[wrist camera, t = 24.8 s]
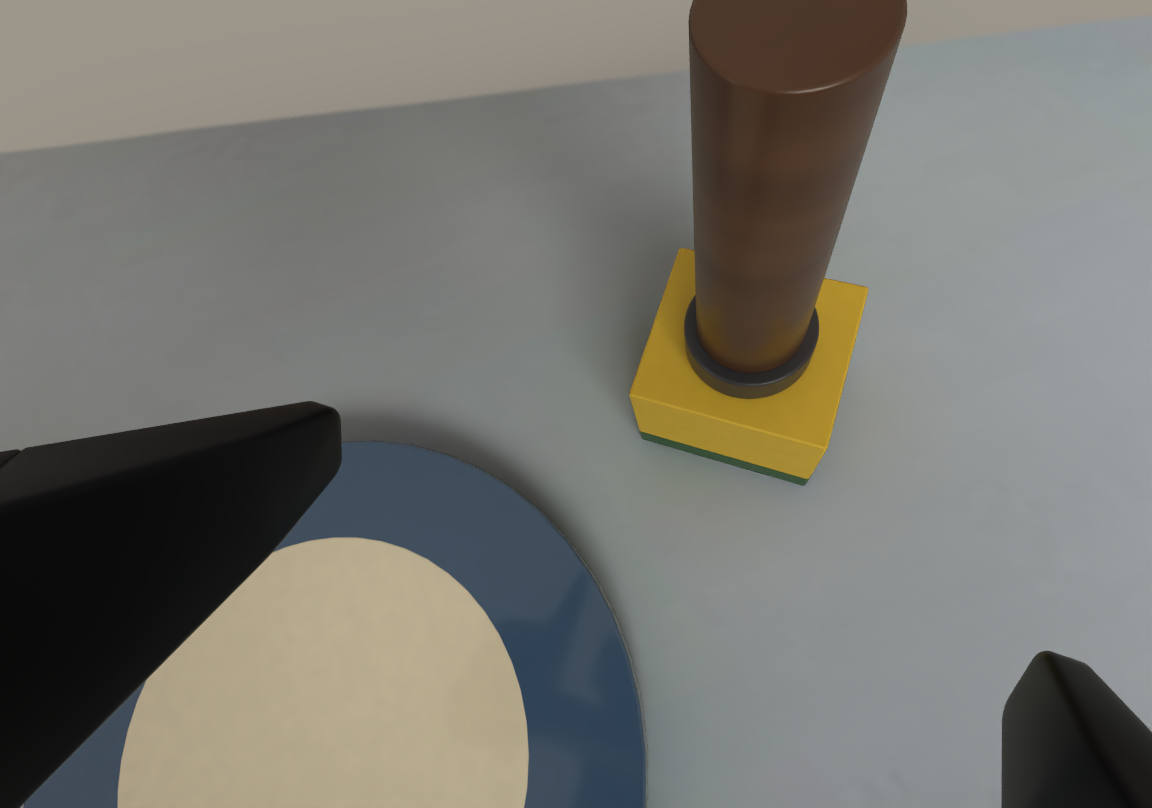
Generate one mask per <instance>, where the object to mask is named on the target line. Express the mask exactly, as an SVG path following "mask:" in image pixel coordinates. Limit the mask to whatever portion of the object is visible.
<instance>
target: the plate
mask: <svg viewBox="0 0 1152 808" xmlns="http://www.w3.org/2000/svg"><path fill="white" fill-rule="evenodd" d="M341 444H342V461H341V465H340V468H339V470H338V472H337V474H336V476H335V477H334V478H333V479H332V481H331V482H330V483H329V484H328V486H327V487H326V488H325V489H324V491H323V492H322V493H321V494H320V495H319V497H318V498H317V499H316V500H315V502H314V503H313V504H312V505H311V506H310V508H309V509H308V510H307V511H306V513H305V514H304V515H303V516H302V518H301V519H300V520H299V521H298V522H297V524H296V525H295V526H294V527H293V529H292V530H291V531H290V532H289V534H288V535H287V536H286V537H285V538H284V540H283V541H282V542H281V543H280V544H279V545H278V547H277V548H276V549H275V550H274V551H273V552H272V554H271V555H270V556H269V557H268V558H267V559H266V560H265V561H264V562H263V563H262V564H261V565H260V566H259V567H258V568H257V569H256V570H255V571H254V572H253V573H252V574H251V575H250V576H249V577H248V578H247V579H246V580H245V581H244V582H243V583H242V584H241V585H240V586H239V587H238V588H237V589H236V590H235V591H234V592H233V593H232V594H231V595H230V596H229V597H228V598H227V599H226V600H225V601H224V602H223V603H222V604H221V605H220V606H219V607H218V608H217V609H216V611H215V612H214V613H213V614H212V615H211V616H210V617H209V618H208V619H207V620H206V621H205V622H204V623H203V624H202V625H201V626H200V627H199V628H198V629H197V630H196V631H195V632H194V633H193V634H192V635H191V636H190V637H189V638H188V639H187V640H186V641H185V642H184V643H183V644H182V645H181V646H180V647H179V648H178V649H177V650H176V651H175V652H174V653H173V654H172V655H171V656H170V657H169V658H168V659H167V660H166V661H165V662H164V663H163V664H162V665H161V666H160V667H159V668H158V669H157V670H156V671H155V672H154V673H153V674H152V675H151V676H150V677H149V678H148V679H147V680H146V681H145V682H144V683H143V684H142V685H141V686H140V687H139V688H138V689H137V690H136V691H135V692H134V693H133V694H132V695H131V696H130V697H129V698H128V699H127V700H126V701H125V702H124V703H123V704H122V705H121V706H120V707H119V708H118V709H117V710H116V711H115V712H114V713H113V714H112V715H111V716H110V717H109V718H108V719H107V720H106V721H105V722H104V723H103V724H102V725H101V726H100V727H99V728H98V729H97V730H96V731H95V732H94V733H93V734H92V735H91V736H90V737H89V738H88V739H87V740H86V741H85V742H84V743H83V744H82V745H81V746H80V747H79V748H78V749H77V750H76V751H75V752H74V753H73V754H72V755H71V756H70V757H69V758H68V759H67V760H66V761H65V762H64V763H63V764H62V765H61V766H60V767H59V768H58V769H57V770H56V771H55V772H54V773H53V774H52V775H51V776H50V777H49V778H48V779H47V780H46V781H45V782H44V783H43V784H42V785H41V786H40V787H39V788H38V789H37V790H36V791H35V792H34V793H33V794H32V795H31V796H30V797H29V798H28V799H27V800H26V802H25V803H24V808H647V804H648V747H647V738H646V730H645V722H644V713H643V705H642V699H641V695H640V691H639V687H638V682H637V678H636V674H635V670H634V666H633V662H632V658H631V654H630V652H629V649H628V646H627V644H626V641H625V638H624V636H623V633H622V631H621V628H620V625H619V623H618V620H617V617H616V615H615V613H614V611H613V609H612V607H611V605H610V603H609V601H608V599H607V597H606V596H605V594H604V592H603V590H602V588H601V586H600V584H599V582H598V580H597V579H596V577H595V575H594V574H593V572H592V571H591V570H590V568H589V567H588V565H587V564H586V563H585V561H584V560H583V558H582V557H581V555H580V554H579V553H578V551H577V550H576V548H575V547H574V546H573V544H572V543H571V542H570V541H569V540H568V539H567V538H566V536H565V535H564V534H563V533H562V532H561V531H560V530H559V529H558V528H557V527H556V526H555V525H554V524H553V522H552V521H551V520H550V519H549V518H548V517H547V516H546V515H545V514H544V513H543V512H541V511H540V510H539V509H538V508H537V507H535V506H534V505H533V504H532V503H530V502H529V501H528V500H527V499H525V498H524V497H523V496H522V495H521V494H519V493H518V492H517V491H516V490H514V489H513V488H512V487H511V486H509V485H507V484H506V483H504V482H502V481H501V480H499V479H497V478H496V477H494V476H492V475H491V474H489V473H487V472H486V471H484V470H482V469H481V468H479V467H476V466H474V465H472V464H469V463H467V462H464V461H462V460H460V459H457V458H455V457H453V456H450V455H448V454H445V453H441V452H437V451H434V450H430V449H426V448H422V447H418V446H415V445H409V444H400V443H392V442H384V441H343V442H341Z"/></svg>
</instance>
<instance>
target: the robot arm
mask: <svg viewBox="0 0 1152 808" xmlns="http://www.w3.org/2000/svg"><path fill="white" fill-rule="evenodd" d="M341 461H342V444H341V420H340V415H339V413H338V412H337V411H336V410H335V409H334V408H332V407H329V406H326V405H323V404H320V403H317V402H313V401H306V402H300V403H294V404H288V405H282V406H276V407H270V408H264V409H258V410H252V411H246V412H240V413H234V414H228V415H222V416H216V417H210V418H204V419H198V420H192V421H186V422H179V423H173V424H167V425H161V426H155V427H149V428H143V429H137V430H131V431H125V432H119V433H113V434H107V435H101V436H95V437H89V438H83V439H77V440H71V441H65V442H59V443H53V444H46V445H40V446H34V447H28V448H25V449H23V450H22V451H20V450H17V449H16V450H9V451H3V452H0V808H20V807H21V806H22V805H23V804H24V803H25V802H26V800H27V799H28V798H29V797H30V796H31V795H32V794H33V793H34V792H35V791H36V790H37V789H38V788H39V787H40V786H41V785H42V784H43V783H44V782H45V781H46V780H47V779H48V778H49V777H50V776H51V775H52V774H53V773H54V772H55V771H56V770H57V769H58V768H59V767H60V766H61V765H62V764H63V763H64V762H65V761H66V760H67V759H68V758H69V757H70V756H71V755H72V754H73V753H74V752H75V751H76V750H77V749H78V748H79V747H80V746H81V745H82V744H83V743H84V742H85V741H86V740H87V739H88V738H89V737H90V736H91V735H92V734H93V733H94V732H95V731H96V730H97V729H98V728H99V727H100V726H101V725H102V724H103V723H104V722H105V721H106V720H107V719H108V718H109V717H110V716H111V715H112V714H113V713H114V712H115V711H116V710H117V709H118V708H119V707H120V706H121V705H122V704H123V703H124V702H125V701H126V700H127V699H128V698H129V697H130V696H131V695H132V694H133V693H134V692H135V691H136V690H137V689H138V688H139V687H140V686H141V685H142V684H143V683H144V682H145V681H146V680H147V679H148V678H149V677H150V676H151V675H152V674H153V673H154V672H155V671H156V670H157V669H158V668H159V667H160V666H161V665H162V664H163V663H164V662H165V661H166V660H167V659H168V658H169V657H170V656H171V655H172V654H173V653H174V652H175V651H176V650H177V649H178V648H179V647H180V646H181V645H182V644H183V643H184V642H185V641H186V640H187V639H188V638H189V637H190V636H191V635H192V634H193V633H194V632H195V631H196V630H197V629H198V628H199V627H200V626H201V625H202V624H203V623H204V622H205V621H206V620H207V619H208V618H209V617H210V616H211V615H212V614H213V613H214V612H215V611H216V609H217V608H218V607H219V606H220V605H221V604H222V603H223V602H224V601H225V600H226V599H227V598H228V597H229V596H230V595H231V594H232V593H233V592H234V591H235V590H236V589H237V588H238V587H239V586H240V585H241V584H242V583H243V582H244V581H245V580H246V579H247V578H248V577H249V576H250V575H251V574H252V573H253V572H254V571H255V570H256V569H257V568H258V567H259V566H260V565H261V564H262V563H263V562H264V561H265V560H266V559H267V558H268V557H269V556H270V555H271V554H272V552H273V551H274V550H275V549H276V548H277V547H278V545H279V544H280V543H281V542H282V541H283V540H284V538H285V537H286V536H287V535H288V534H289V532H290V531H291V530H292V529H293V527H294V526H295V525H296V524H297V522H298V521H299V520H300V519H301V518H302V516H303V515H304V514H305V513H306V511H307V510H308V509H309V508H310V506H311V505H312V504H313V503H314V502H315V500H316V499H317V498H318V497H319V495H320V494H321V493H322V492H323V491H324V489H325V488H326V487H327V486H328V484H329V483H330V482H331V481H332V479H333V478H334V477H335V476H336V474H337V472H338V470H339V468H340V465H341ZM1002 808H1152V732H1151V731H1150V730H1149V729H1148V727H1147V726H1146V725H1145V724H1144V723H1143V722H1142V721H1141V720H1140V719H1139V718H1138V717H1137V716H1136V715H1135V714H1134V713H1133V712H1132V711H1131V710H1130V709H1129V708H1128V706H1127V705H1126V704H1125V703H1124V702H1123V701H1122V700H1121V699H1120V698H1119V697H1118V696H1117V695H1116V694H1115V693H1114V692H1113V691H1112V690H1111V689H1110V688H1109V687H1108V685H1107V684H1106V683H1105V682H1104V681H1103V680H1102V679H1101V678H1100V677H1099V676H1098V675H1097V674H1096V673H1095V672H1094V671H1093V670H1092V669H1091V668H1090V667H1089V666H1088V665H1086V664H1085V663H1083V662H1080V661H1078V660H1075V659H1072V658H1069V657H1066V656H1063V655H1060V654H1057V653H1054V652H1051V651H1043V652H1040V653H1038V654H1037V655H1036V656H1035V657H1034V658H1033V659H1032V661H1031V663H1030V664H1029V666H1028V667H1027V669H1026V671H1025V672H1024V674H1023V676H1022V677H1021V679H1020V680H1019V682H1018V684H1017V685H1016V687H1015V688H1014V690H1013V692H1012V693H1011V695H1010V696H1009V698H1008V700H1007V702H1006V705H1005V708H1004V711H1003V717H1002Z"/></svg>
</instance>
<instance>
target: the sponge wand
mask: <svg viewBox="0 0 1152 808" xmlns="http://www.w3.org/2000/svg"><path fill="white" fill-rule="evenodd" d="M906 17H907V1H906V0H693V2H692V6H691V9H690V14H689V51H690V52H689V54H690V94H691V133H692V173H693V213H694V250H690V249H685V248H680V249H679V251H678V254H677V257H676V260H675V263H674V265H673V268H672V271H671V274H670V277H669V280H668V283H667V286H666V289H665V292H664V294H663V297H662V300H661V303H660V306H659V309H658V312H657V315H656V318H655V321H654V323H653V326H652V329H651V332H650V335H649V338H648V341H647V344H646V347H645V350H644V352H643V355H642V358H641V361H640V364H639V367H638V370H637V373H636V376H635V378H634V381H633V384H632V387H631V390H630V393H629V396H630V399H631V403H632V406H633V409H634V413H635V416H636V420H637V423H638V426H639V430H640V434H641V437H642V439H645V440H648V441H652V442H655V443H659V444H662V445H665V446H669V447H672V448H676V449H679V450H683V451H686V452H690V453H693V454H696V455H700V456H703V457H707V458H710V459H714V460H717V461H720V462H724V463H727V464H731V465H734V466H738V467H741V468H745V469H748V470H751V471H755V472H758V473H762V474H765V475H769V476H772V477H776V478H779V479H782V480H786V481H789V482H793V483H796V484H800V485H805V484H806V483H807V481H808V480H809V478H810V476H811V475H812V473H813V471H814V470H815V468H816V466H817V465H818V463H819V461H820V460H821V458H822V456H823V455H824V453H825V451H826V450H827V448H828V445H829V441H830V437H831V433H832V429H833V425H834V421H835V417H836V414H837V410H838V406H839V402H840V398H841V394H842V390H843V386H844V383H845V379H846V375H847V371H848V367H849V363H850V359H851V356H852V352H853V348H854V344H855V340H856V336H857V332H858V328H859V325H860V321H861V317H862V313H863V309H864V305H865V301H866V297H867V294H868V288H867V287H864V286H859V285H855V284H850V283H845V282H841V281H836V280H831V279H826V278H824V277H825V273H826V270H827V267H828V264H829V261H830V258H831V255H832V252H833V248H834V245H835V242H836V239H837V236H838V233H839V230H840V227H841V224H842V220H843V217H844V214H845V211H846V208H847V205H848V202H849V199H850V195H851V192H852V189H853V186H854V183H855V180H856V177H857V174H858V170H859V167H860V164H861V161H862V158H863V155H864V152H865V149H866V145H867V142H868V139H869V136H870V133H871V130H872V127H873V124H874V120H875V117H876V114H877V111H878V108H879V105H880V102H881V99H882V96H883V92H884V89H885V86H886V83H887V80H888V77H889V74H890V71H891V67H892V64H893V61H894V58H895V55H896V52H897V49H898V46H899V42H900V39H901V36H902V33H903V30H904V27H905V22H906Z"/></svg>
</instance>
